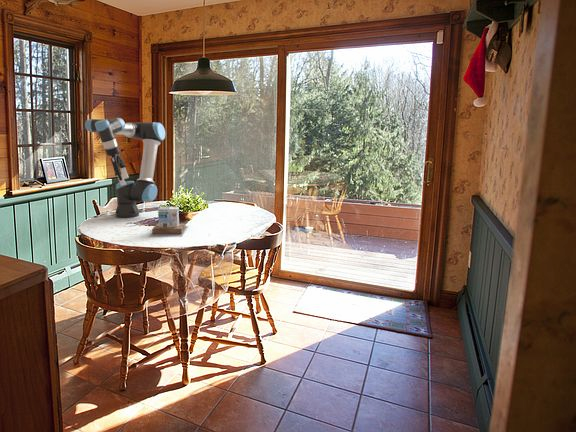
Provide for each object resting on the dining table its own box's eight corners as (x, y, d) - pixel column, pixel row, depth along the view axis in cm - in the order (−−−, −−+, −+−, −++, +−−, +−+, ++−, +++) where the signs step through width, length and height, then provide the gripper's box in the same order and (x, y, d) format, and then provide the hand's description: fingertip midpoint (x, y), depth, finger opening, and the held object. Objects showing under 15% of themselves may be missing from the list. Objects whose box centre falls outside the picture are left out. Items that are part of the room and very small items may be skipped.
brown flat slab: (158, 227, 247) (158, 226, 246) (188, 227, 248) (188, 226, 248) (148, 238, 223) (148, 236, 223) (181, 238, 225) (181, 236, 225)
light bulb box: (158, 227, 231) (157, 208, 229) (160, 224, 237) (159, 206, 235) (178, 227, 232) (177, 208, 230) (179, 224, 239) (178, 206, 237)
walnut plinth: (158, 228, 242) (157, 223, 241) (185, 228, 243) (185, 223, 242) (152, 234, 228) (152, 229, 227) (181, 234, 229) (181, 229, 229)
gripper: (108, 144, 245) (121, 177, 254) (100, 154, 222) (115, 189, 231) (121, 141, 246) (133, 173, 255) (114, 150, 223) (128, 186, 232)
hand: (125, 181), depth 243 cm, fingers open, 13 cm apart
